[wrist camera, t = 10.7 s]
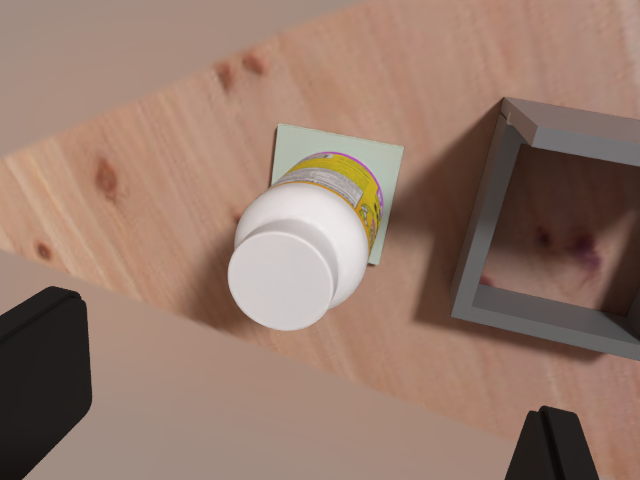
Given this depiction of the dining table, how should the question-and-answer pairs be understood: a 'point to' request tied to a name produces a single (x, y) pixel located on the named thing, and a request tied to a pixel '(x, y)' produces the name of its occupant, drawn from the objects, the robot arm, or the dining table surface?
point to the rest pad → (374, 154)
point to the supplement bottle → (306, 241)
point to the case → (510, 132)
